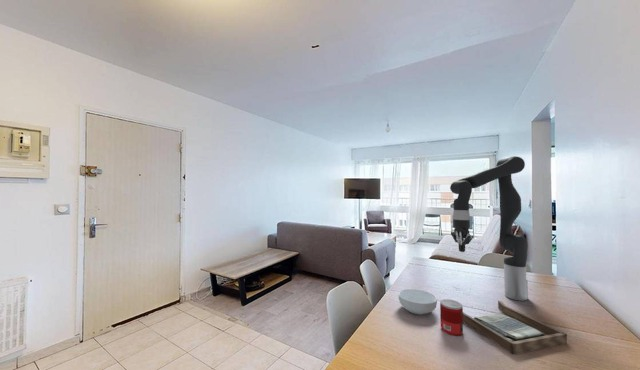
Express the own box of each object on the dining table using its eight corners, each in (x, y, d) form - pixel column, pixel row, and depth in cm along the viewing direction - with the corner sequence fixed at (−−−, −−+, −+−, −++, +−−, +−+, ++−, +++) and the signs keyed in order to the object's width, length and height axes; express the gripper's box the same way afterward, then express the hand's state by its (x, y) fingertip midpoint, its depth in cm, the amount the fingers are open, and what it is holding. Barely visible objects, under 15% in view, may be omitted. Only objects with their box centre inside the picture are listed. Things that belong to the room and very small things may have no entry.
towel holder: (499, 307, 117) (499, 300, 117) (571, 342, 90) (571, 333, 90) (447, 315, 109) (447, 307, 110) (508, 355, 82) (507, 345, 82)
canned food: (466, 337, 93) (465, 308, 93) (443, 335, 94) (443, 306, 95) (458, 326, 100) (458, 300, 101) (438, 324, 102) (437, 298, 102)
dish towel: (500, 315, 110) (500, 308, 110) (546, 339, 93) (546, 330, 93) (468, 321, 105) (467, 314, 105) (510, 347, 88) (509, 338, 88)
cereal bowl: (434, 305, 119) (434, 291, 119) (439, 322, 104) (439, 306, 104) (398, 300, 125) (398, 286, 125) (398, 316, 109) (398, 300, 109)
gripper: (478, 219, 121) (478, 254, 120) (457, 217, 134) (457, 248, 133) (465, 220, 119) (466, 255, 119) (445, 217, 132) (446, 249, 131)
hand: (461, 251), depth 126 cm, fingers closed
